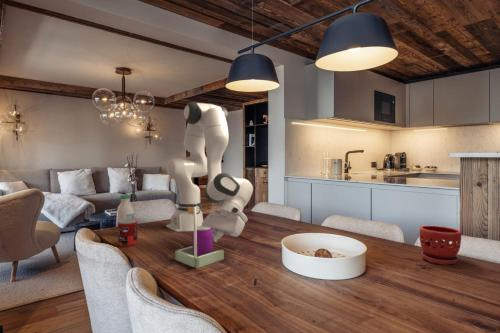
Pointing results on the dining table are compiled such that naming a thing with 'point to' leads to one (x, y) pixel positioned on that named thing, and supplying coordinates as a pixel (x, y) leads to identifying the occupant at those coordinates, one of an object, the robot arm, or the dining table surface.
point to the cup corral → (187, 253)
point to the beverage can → (203, 240)
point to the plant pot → (440, 244)
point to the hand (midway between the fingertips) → (212, 240)
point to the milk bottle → (125, 208)
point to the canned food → (127, 232)
